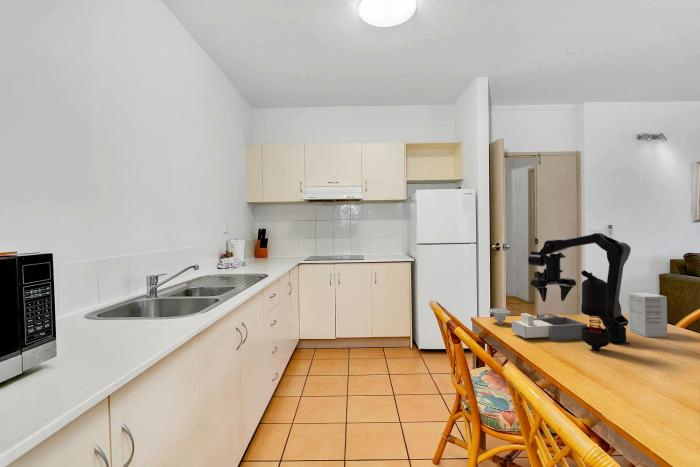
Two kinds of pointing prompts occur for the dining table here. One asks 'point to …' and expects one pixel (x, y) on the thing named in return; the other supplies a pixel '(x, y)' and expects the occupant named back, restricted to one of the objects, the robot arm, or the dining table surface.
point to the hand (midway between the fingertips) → (553, 301)
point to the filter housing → (562, 327)
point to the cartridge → (530, 327)
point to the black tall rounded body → (595, 310)
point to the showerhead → (499, 314)
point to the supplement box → (647, 314)
